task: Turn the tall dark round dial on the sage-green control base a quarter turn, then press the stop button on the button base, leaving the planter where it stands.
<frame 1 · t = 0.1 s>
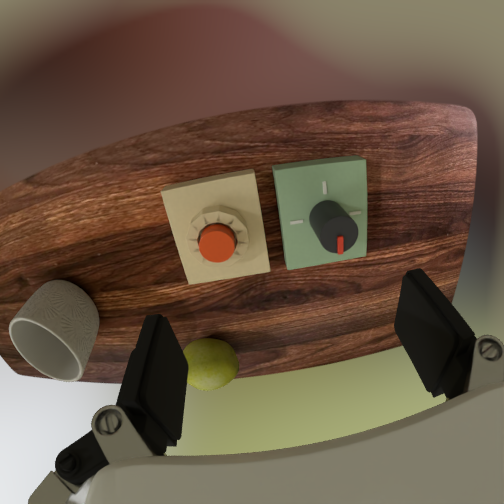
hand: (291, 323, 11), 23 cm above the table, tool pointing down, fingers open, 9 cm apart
apple: (209, 343, 43), on the table
dial base: (320, 209, 33), on the table
planter: (72, 303, 38), on the table
button base: (219, 225, 34), on the table
dial: (333, 226, 29), point 5 cm above the table, hinge at 0.0°
stop button: (217, 243, 30), point 5 cm above the table, slide at 0.1 cm
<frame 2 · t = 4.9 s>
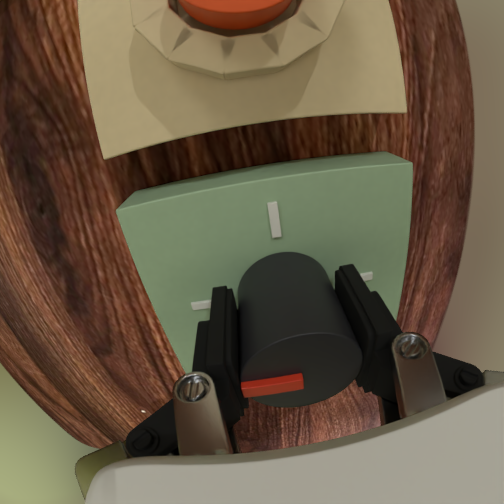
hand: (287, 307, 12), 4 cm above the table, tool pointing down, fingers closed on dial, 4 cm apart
dial base: (276, 261, 15), on the table
button base: (235, 15, 9), on the table
dial: (293, 331, 10), point 5 cm above the table, hinge at 0.1°, touching gripper
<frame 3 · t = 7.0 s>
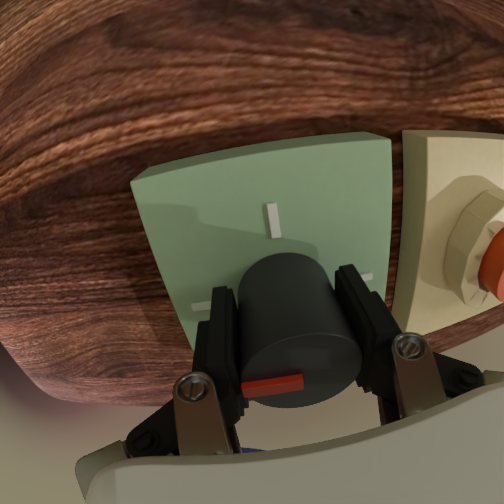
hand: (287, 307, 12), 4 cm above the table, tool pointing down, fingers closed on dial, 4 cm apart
dial base: (276, 262, 15), on the table
button base: (462, 227, 14), on the table
dial: (293, 331, 10), point 5 cm above the table, hinge at 89.2°, touching gripper
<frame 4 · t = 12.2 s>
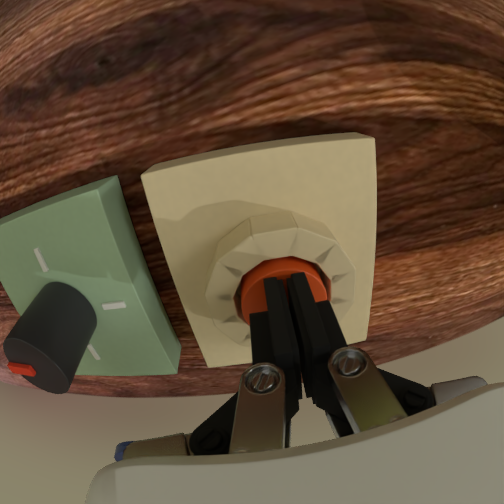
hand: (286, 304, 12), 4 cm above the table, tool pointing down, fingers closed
dial base: (83, 285, 16), on the table
button base: (272, 254, 16), on the table
dial: (50, 339, 12), point 5 cm above the table, hinge at 87.6°
stop button: (282, 293, 13), point 4 cm above the table, slide at -0.8 cm, touching gripper
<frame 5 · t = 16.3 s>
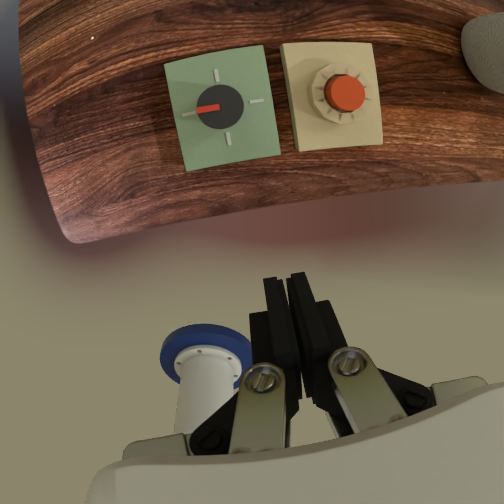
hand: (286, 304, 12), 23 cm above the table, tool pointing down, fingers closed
dial base: (223, 106, 28), on the table
planter: (479, 54, 23), on the table
button base: (331, 94, 28), on the table
dial: (221, 106, 24), point 5 cm above the table, hinge at 87.6°
stop button: (345, 93, 24), point 5 cm above the table, slide at 0.1 cm
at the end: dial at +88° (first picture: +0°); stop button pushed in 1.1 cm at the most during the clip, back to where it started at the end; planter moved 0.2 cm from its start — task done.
